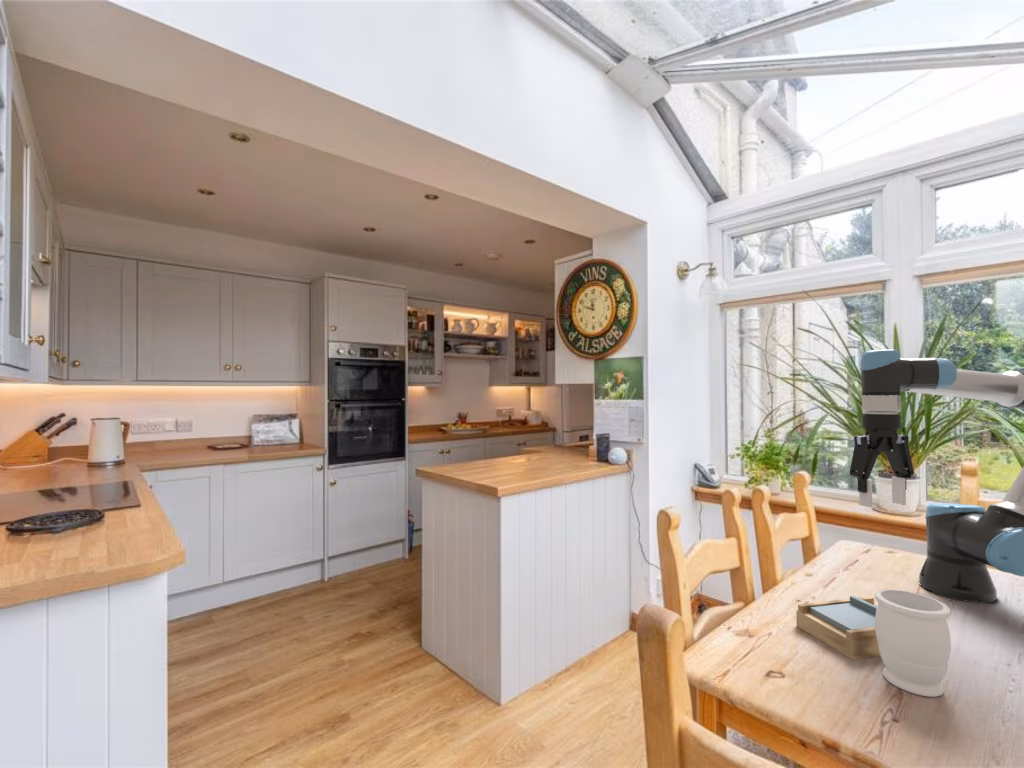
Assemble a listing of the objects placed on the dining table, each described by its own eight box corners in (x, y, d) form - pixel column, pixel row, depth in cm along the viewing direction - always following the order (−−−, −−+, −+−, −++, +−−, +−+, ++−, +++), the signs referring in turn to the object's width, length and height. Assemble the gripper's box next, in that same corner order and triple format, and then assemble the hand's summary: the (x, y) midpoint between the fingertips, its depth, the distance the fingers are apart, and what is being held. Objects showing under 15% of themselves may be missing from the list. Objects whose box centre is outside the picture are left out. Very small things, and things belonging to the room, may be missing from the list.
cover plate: (854, 607, 109) (854, 595, 109) (900, 629, 98) (900, 616, 99) (810, 612, 106) (810, 600, 106) (852, 636, 96) (852, 622, 96)
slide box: (868, 616, 112) (868, 595, 112) (932, 648, 98) (932, 623, 98) (796, 625, 107) (796, 603, 107) (853, 659, 94) (852, 634, 94)
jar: (966, 696, 82) (965, 609, 83) (924, 707, 79) (923, 617, 80) (901, 662, 93) (900, 585, 93) (861, 671, 90) (860, 591, 90)
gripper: (901, 412, 122) (902, 499, 122) (830, 412, 117) (831, 503, 117) (932, 413, 115) (934, 506, 114) (858, 414, 110) (859, 511, 109)
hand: (882, 504), depth 116 cm, fingers open, 9 cm apart
